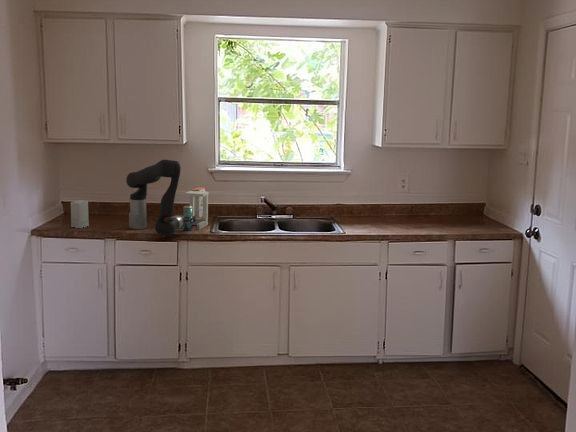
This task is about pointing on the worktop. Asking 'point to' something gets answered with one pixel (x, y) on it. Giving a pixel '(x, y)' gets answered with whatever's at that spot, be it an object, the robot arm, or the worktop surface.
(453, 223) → the worktop surface
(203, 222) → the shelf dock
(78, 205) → the skincare box
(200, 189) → the cracker box
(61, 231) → the worktop surface
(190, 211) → the canister
